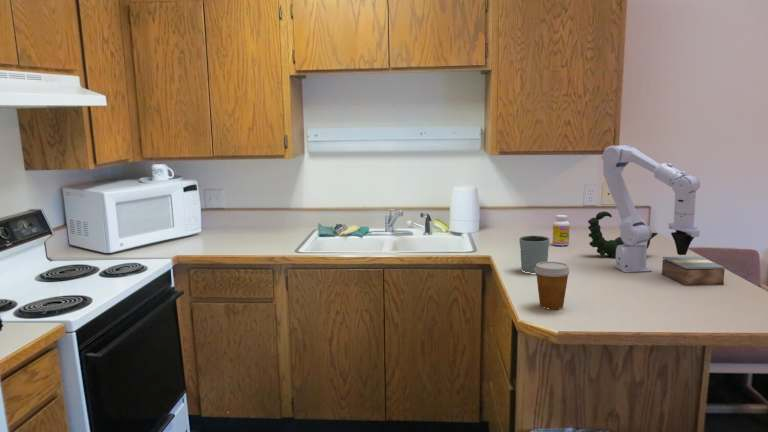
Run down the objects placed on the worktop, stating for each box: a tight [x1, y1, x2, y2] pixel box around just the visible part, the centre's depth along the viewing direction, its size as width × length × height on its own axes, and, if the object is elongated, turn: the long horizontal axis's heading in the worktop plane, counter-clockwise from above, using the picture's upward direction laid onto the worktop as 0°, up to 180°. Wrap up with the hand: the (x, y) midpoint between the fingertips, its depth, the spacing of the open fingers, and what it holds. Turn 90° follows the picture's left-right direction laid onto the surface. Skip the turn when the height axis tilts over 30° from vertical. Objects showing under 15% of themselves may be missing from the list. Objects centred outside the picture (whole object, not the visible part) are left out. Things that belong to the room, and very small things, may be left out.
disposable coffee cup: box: [535, 261, 571, 310], centre depth 151 cm, size 10×10×12 cm
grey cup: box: [519, 235, 550, 273], centre depth 188 cm, size 10×10×12 cm
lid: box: [662, 256, 725, 269], centre depth 173 cm, size 12×14×1 cm
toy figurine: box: [587, 210, 658, 259], centre depth 205 cm, size 9×19×25 cm
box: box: [661, 259, 725, 287], centre depth 174 cm, size 12×14×5 cm
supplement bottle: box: [552, 214, 571, 246], centre depth 228 cm, size 7×7×13 cm
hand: (681, 254), depth 174 cm, fingers closed
